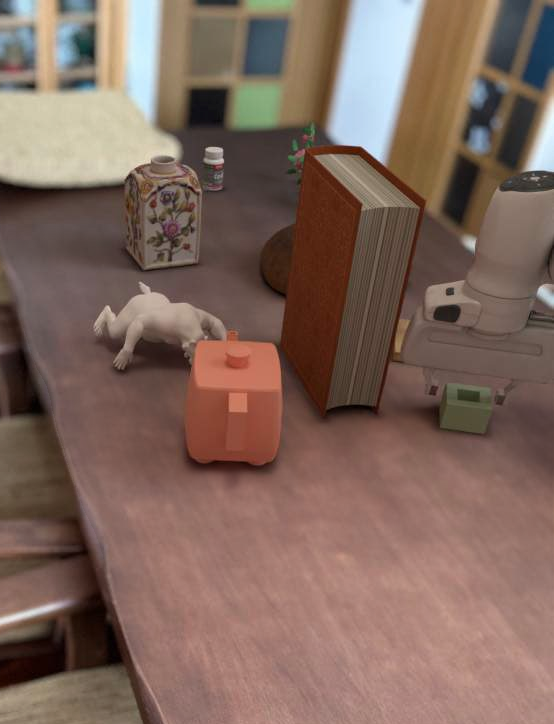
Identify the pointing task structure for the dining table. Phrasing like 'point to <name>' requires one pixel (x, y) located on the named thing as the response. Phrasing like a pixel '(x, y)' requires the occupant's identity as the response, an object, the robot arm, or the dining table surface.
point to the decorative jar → (163, 214)
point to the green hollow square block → (465, 408)
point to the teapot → (234, 401)
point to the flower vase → (299, 157)
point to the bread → (279, 258)
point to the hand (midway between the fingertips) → (464, 398)
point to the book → (348, 274)
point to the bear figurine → (158, 324)
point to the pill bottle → (213, 168)
